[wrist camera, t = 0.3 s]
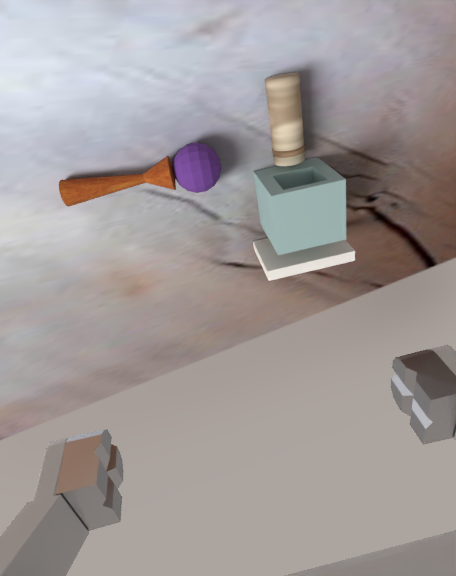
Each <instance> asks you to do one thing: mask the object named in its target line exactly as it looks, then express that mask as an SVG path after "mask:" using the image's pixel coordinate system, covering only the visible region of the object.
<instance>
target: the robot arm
mask: <svg viewBox="0 0 456 576" xmlns="http://www.w3.org/2000/svg"><path fill="white" fill-rule="evenodd" d="M392 368H393V369H394V371H395V372H396V374H395V375H394V376H393V377H392V379H391V389H392V393H393V397H394V399H395V401H396V403H397V405H398V407H399V408H400V410H401V411H402V412H404V413H406V414H408V415H409V416H411V419H410V425H411V427H412V428H413V430H414V431H415V433H416V434H417V436H418V437H419V439H420V440H421V442H422V443H423V444H428V443H432V442H436V441H441V440H445V439H450V438H454V440H456V351H455V350H454V349H453V348H452V347H451V346H449V345H445V346H440V347H436V348H432V349H429V350H423V351H419V352H415V353H412V354H408V355H404V356H400V357H396V358H395V359H394V360H393V365H392ZM111 438H112V437H111V435H110V433H109V432H108V430H101V431H96V432H92V433H87V434H82V435H78V436H73V437H69V438H65V439H61V440H56V441H52V442H50V443H49V445H48V446H47V448H46V451H45V455H44V459H43V463H42V467H41V471H40V476H39V480H38V483H37V488H36V491H35V496H34V500H33V501H31V502H28V503H27V504H26V505H25V506H24V508H23V509H22V510H21V512H20V513H19V514H18V515H17V516H16V518H15V519H14V520H13V521H12V522H11V524H10V525H9V526H8V527H7V529H6V530H5V531H4V532H3V534H2V535H1V536H0V576H66V574H67V572H68V570H69V569H70V567H71V565H72V563H73V561H74V559H75V558H76V556H77V554H78V552H79V550H80V549H81V547H82V545H83V543H84V541H85V539H86V537H87V536H88V534H89V532H88V531H90V530H93V529H96V528H100V527H104V526H107V525H111V524H114V523H118V522H120V520H121V504H122V496H121V494H120V493H119V491H118V488H119V486H120V485H121V483H122V482H123V464H122V458H121V455H120V452H119V450H118V448H117V446H114V445H112V444H111ZM286 576H456V531H452V532H448V533H444V534H441V535H437V536H433V537H429V538H426V539H422V540H418V541H414V542H411V543H407V544H403V545H399V546H395V547H392V548H388V549H384V550H381V551H377V552H373V553H369V554H365V555H361V556H358V557H354V558H351V559H346V560H342V561H339V562H335V563H331V564H327V565H324V566H320V567H316V568H312V569H309V570H305V571H301V572H297V573H294V574H290V575H286Z"/></svg>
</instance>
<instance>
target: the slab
mask: <svg viewBox="0 0 456 576" xmlns="http://www.w3.org/2000/svg"><path fill="white" fill-rule="evenodd" d="M253 244H254V250H255V252H256V254H257V257H258V259H259V261H260V263H261V265H262V267H263V269H264V272H265V274H266V276H267V278H268V280H269V281H270V280H274V279H279V278H283V277H287V276H291V275H296V274H300V273H304V272H308V271H313V270H317V269H321V268H325V267H330V266H334V265H338V264H342V263H347V262H351V261H355V251H354V249H353V248H352V247H351V246H350V245H349V244H348V243H347V242H346V241H345V240H342V241H337V242H333V243H329V244H324V245H320V246H316V247H312V248H307V249H303V250H299V251H294V252H290V253H286V254H282V255H278V254H277V252H276V251H275V249H274V247H273V245H272V243H271V242H270V240H269V238H266V239H261V240H257V241H253Z"/></svg>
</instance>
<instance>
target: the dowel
mask: <svg viewBox="0 0 456 576" xmlns="http://www.w3.org/2000/svg"><path fill="white" fill-rule="evenodd" d="M265 83H266V93H267V102H268V111H269V120H270V130H271V139H272V152H273V157H274V164H275V165H277V166H292V165H296V164H299V163H301V162H303V161H304V160H305V153H304V151H305V146H304V137H303V122H302V106H301V91H300V75H299V73H285V74H279V75H275V76H271V77H268V78H266V79H265Z"/></svg>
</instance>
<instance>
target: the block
mask: <svg viewBox="0 0 456 576" xmlns="http://www.w3.org/2000/svg"><path fill="white" fill-rule="evenodd" d="M254 179H255V186H256V193H257V201H258V208H259V215H260V223H261V226H262V227H263V229H264V231H265V233H266V235H267V236H268V238H269V240H270V242H271V243H272V245H273V247H274V249H275V251H276V252H277V254H278V255H282V254H286V253H290V252H294V251H299V250H303V249H307V248H312V247H316V246H320V245H324V244H329V243H333V242H337V241H342V240H346V179H345V178H344V177H342V176H341V175H340V174H338V173H337V172H336V171H335V170H333V169H332V168H331V167H330V166H328V165H327V164H326V163H324V162H323V161H322V160H321V159H319V158H318V157H315V158H310V159H306V160H304V161H303V162H301V163H299V164H296V165H292V166H274V167H270V168H266V169H261V170H257V171H254Z"/></svg>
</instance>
